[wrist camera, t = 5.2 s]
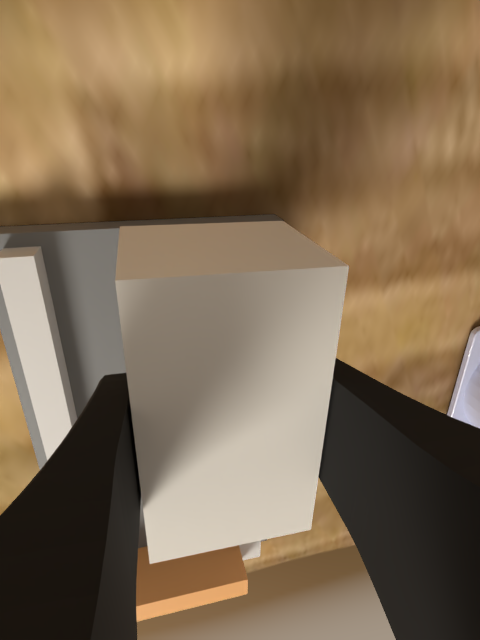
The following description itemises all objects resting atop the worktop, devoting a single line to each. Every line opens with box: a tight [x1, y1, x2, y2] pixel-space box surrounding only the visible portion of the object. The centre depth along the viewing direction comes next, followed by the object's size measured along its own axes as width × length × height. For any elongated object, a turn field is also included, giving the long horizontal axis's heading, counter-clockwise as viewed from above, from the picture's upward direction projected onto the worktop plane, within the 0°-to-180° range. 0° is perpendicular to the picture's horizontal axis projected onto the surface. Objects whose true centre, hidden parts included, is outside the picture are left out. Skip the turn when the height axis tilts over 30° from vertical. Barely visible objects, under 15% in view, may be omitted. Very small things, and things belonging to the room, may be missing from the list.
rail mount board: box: [0, 214, 284, 621], centre depth 18 cm, size 11×19×4 cm, turn 179°
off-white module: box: [115, 221, 349, 564], centre depth 10 cm, size 4×7×4 cm, turn 179°
